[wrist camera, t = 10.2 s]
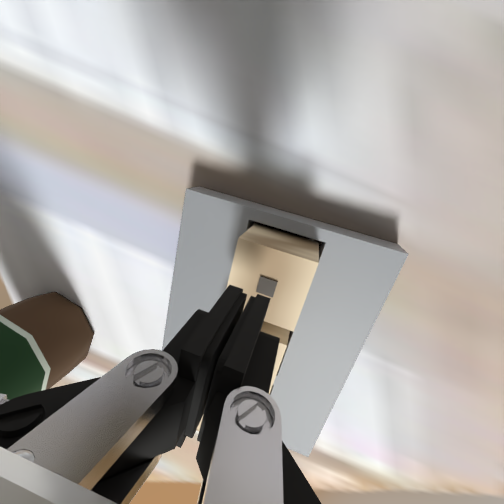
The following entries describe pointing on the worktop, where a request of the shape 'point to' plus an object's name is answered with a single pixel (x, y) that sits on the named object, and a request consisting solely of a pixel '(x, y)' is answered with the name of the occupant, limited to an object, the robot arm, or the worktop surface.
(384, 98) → the worktop surface
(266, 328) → the key
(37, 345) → the beer bottle
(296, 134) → the worktop surface
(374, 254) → the board
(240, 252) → the key
